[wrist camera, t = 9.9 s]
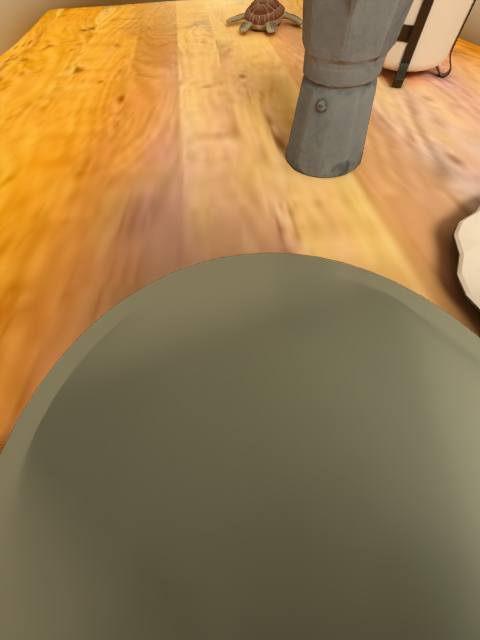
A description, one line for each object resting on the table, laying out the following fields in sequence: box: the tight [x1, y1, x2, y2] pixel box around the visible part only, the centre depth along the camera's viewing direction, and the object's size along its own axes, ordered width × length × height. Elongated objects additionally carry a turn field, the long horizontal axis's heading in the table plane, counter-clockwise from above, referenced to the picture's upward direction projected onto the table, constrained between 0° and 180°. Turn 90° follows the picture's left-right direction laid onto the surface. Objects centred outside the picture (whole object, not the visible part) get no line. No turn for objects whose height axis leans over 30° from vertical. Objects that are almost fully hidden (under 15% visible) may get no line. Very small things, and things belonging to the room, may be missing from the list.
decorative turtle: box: [226, 0, 303, 33], centre depth 60 cm, size 18×17×5 cm
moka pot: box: [286, 0, 414, 178], centre depth 23 cm, size 10×15×20 cm, turn 167°
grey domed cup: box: [0, 253, 480, 640], centre depth 9 cm, size 9×7×13 cm
